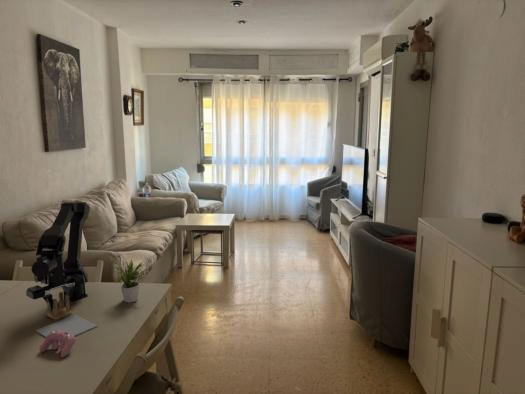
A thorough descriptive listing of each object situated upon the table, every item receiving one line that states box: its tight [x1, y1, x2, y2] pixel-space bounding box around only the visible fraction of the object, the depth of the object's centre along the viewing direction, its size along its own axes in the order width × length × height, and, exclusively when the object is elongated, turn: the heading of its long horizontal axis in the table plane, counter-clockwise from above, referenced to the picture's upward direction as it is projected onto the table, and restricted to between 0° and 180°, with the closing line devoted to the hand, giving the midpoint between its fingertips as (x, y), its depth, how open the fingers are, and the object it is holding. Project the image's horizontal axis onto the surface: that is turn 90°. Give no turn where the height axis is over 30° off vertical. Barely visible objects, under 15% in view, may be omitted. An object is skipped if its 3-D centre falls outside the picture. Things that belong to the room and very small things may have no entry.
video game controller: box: [38, 330, 76, 358], centre depth 122 cm, size 10×5×7 cm, turn 71°
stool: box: [46, 291, 72, 321], centre depth 145 cm, size 6×6×7 cm
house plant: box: [114, 258, 149, 303], centre depth 156 cm, size 14×14×16 cm
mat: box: [35, 314, 98, 344], centre depth 135 cm, size 14×14×1 cm
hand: (58, 307), depth 145 cm, fingers closed on stool, 5 cm apart
